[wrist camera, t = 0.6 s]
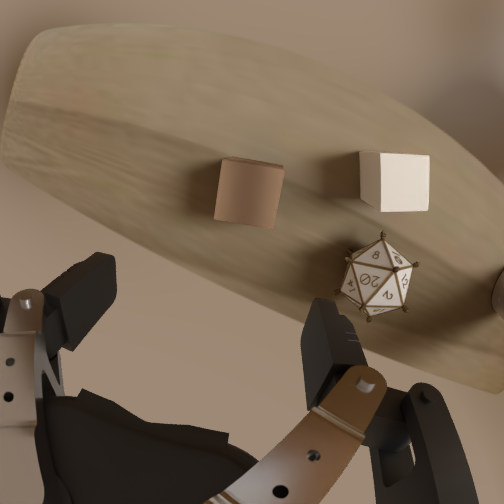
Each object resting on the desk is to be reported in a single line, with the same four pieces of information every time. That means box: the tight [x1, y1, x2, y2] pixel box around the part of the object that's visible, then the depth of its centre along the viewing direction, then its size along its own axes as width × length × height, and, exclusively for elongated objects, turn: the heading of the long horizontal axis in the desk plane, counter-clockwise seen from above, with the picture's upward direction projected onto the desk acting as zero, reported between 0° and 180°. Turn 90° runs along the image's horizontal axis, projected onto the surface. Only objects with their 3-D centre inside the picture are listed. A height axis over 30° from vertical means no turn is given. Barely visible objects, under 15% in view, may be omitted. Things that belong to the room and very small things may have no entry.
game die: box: [332, 230, 420, 323], centre depth 26 cm, size 9×8×10 cm
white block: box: [359, 151, 429, 212], centre depth 23 cm, size 5×5×6 cm
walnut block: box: [214, 157, 285, 230], centre depth 25 cm, size 5×5×6 cm
